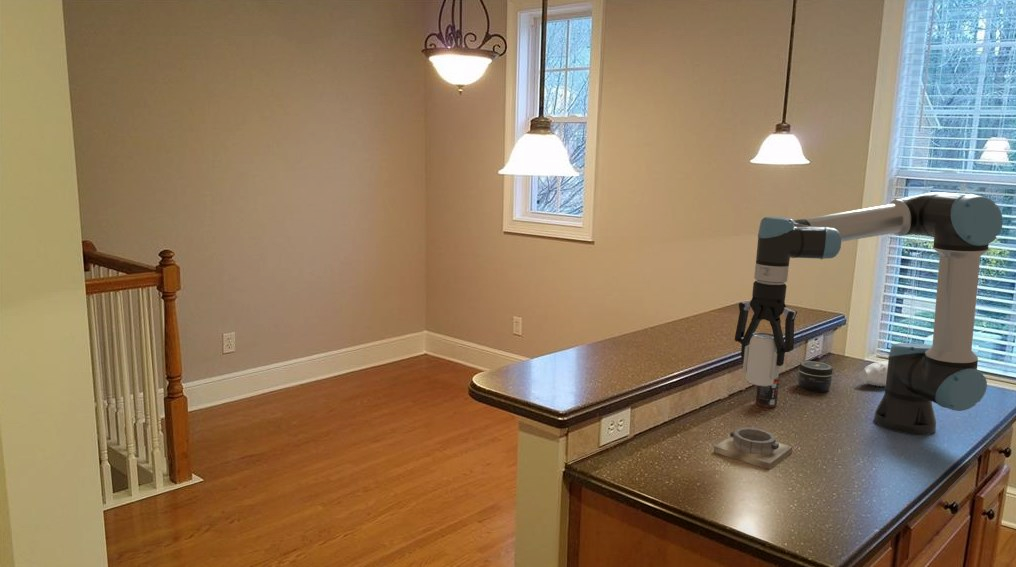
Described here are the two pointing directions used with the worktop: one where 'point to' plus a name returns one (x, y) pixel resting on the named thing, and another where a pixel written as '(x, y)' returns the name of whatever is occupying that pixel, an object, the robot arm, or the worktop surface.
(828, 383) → the jar
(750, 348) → the can
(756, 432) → the grey ring holder base
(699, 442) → the worktop surface
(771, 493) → the worktop surface
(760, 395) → the supplement bottle
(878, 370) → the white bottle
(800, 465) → the worktop surface
